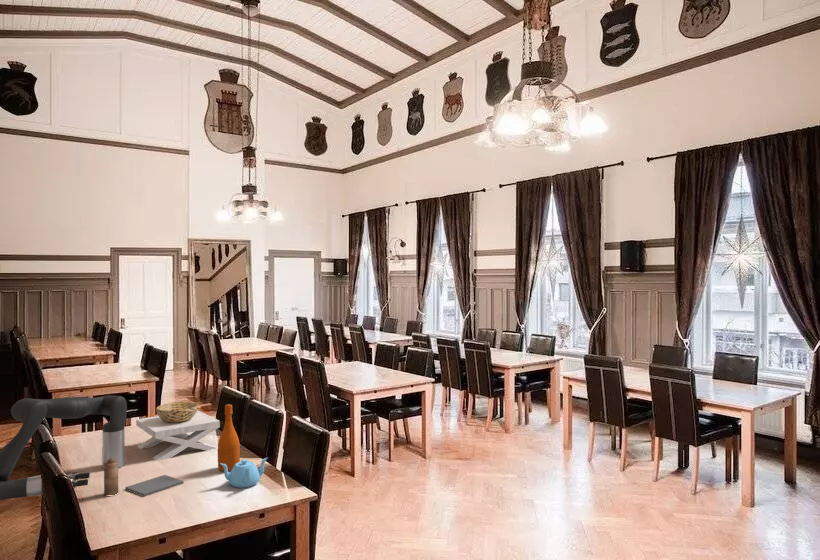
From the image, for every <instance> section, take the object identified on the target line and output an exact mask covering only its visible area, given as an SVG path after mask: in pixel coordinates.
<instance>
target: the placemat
mask: <svg viewBox="0 0 820 560" xmlns="http://www.w3.org/2000/svg"><path fill="white" fill-rule="evenodd" d="M184 482H185V481H184V480H181V479H178V478H175V477H173V476H169V475H167V474H162V475H159V476H156V477H152V478H150V479H146V480H144V481H141V482H137V483H134V484H131V485H128V486H125V489H124V490H126V489H127V490H126V491H128V490H130V491H129V492H131V491H132V492H131V493H133V492H135V493H134V494H136V493H137V494H136V495H139V494H140V496H141V495H142V497H147V495H148V496H151V495H153V494H156V493H159V492H162V491H165V490H169V489H171V488H174V487H176V486H180V485H182V484H184Z"/></svg>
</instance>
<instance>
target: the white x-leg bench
mask: <svg viewBox="0 0 820 560" xmlns="http://www.w3.org/2000/svg"><path fill="white" fill-rule="evenodd" d="M155 411H156V414H157V415H156V416H150V417H142V418H137V419H135V425H136V426H137V427H138V428H139V429H140V430H142V431H144V432H145V433H146V434H148V435H149V436H151V437H150V438H149V439H147V440H145V441H143V442H142V443H140V444H139V445H137V447H138V446H139V447H140V448H143V449H147V447H149V448H152V447H153V446H154V447H156V446H157V445H158V444H161V443H162V442H168V443H171V444H172V443H173V445H171V446H169V447H167V448H166V449H164V450H163V451H161V452H160V453H158V454H156V455H154V456H153V457H152V459H153V458H154V459H153V460H155V461H156V462H157V461H164V460H168V459H167V458H169V459H171V458H173V457H174V456H176V455H177V454H179V453H180V452H182V451H184V450H185V449H187V448H189V447H190V448H194V449H199V450H203V451H207V450H208V451H211V450H212V449H213V450H217V449H216V448H217V447H218V446H216V445H213V444H209V443H205V442H201V441H200V440H202V439H204V438H205V437H206V436H208V435H210V434H211V433H212V432H214V431H216V430H217V429H219V428H220V427H221V421H220V420H219V419H217V418H215V417H213V416H210V415H208V414H206V413H204V412H203V411H200V410H199V403H197V402H193V401H177V402H176V401H175V402H169V403H164V404H160V405H158V406H157V407H156V408H155ZM139 447H138V448H139ZM154 447H153V448H154ZM140 448H139V449H140ZM208 451H207V452H208ZM163 459H164V460H163Z"/></svg>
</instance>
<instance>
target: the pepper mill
mask: <svg viewBox="0 0 820 560" xmlns="http://www.w3.org/2000/svg"><path fill="white" fill-rule="evenodd" d="M117 493H118V494H119V468H118V461H115V460H114V459H113V458H110V459H108V461H107V462H105V463H104V468H103V495H114V496H116V495H115V494H117ZM118 494H117V495H118Z"/></svg>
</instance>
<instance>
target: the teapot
mask: <svg viewBox="0 0 820 560" xmlns="http://www.w3.org/2000/svg"><path fill="white" fill-rule="evenodd" d="M267 459H268V457H265V458H263V459H262V460H261V462H260V468H258V467H257V465H256V464H255V463H254V462H253V461H250V460H248V459H240V462H238V463H236V464H235V466H234V467H233V469H232V470H231V471H228V469H227V465H226V464H222V463H220V464H221V465H222V466H223V467H224V471H223V473H224V477H225V479H226V480H227V481H228V483H229V484H230V485H231V486H232V487H234V488H238V489H239V488H240V489H241V488H242V489H243V488H245V489H246V488H249V487H253V486H255V485H257V484H258V483H259V481H260V480H261V476H263V474H264V473H265V463H266V461H267ZM256 483H257V484H256Z"/></svg>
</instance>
